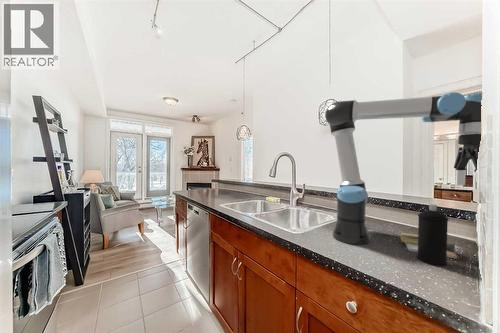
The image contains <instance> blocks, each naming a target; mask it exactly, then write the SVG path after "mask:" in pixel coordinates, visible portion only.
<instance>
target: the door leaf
mask: <svg viewBox="0 0 500 333" xmlns="http://www.w3.org/2000/svg"><path fill="white" fill-rule="evenodd" d="M455 249H456V245H455V244H454V243H449V242H447V258H451V259H455V260H456V259H458V255H457V254H456V253H455V251H456V250H455Z"/></svg>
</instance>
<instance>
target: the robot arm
mask: <svg viewBox="0 0 500 333" xmlns="http://www.w3.org/2000/svg"><path fill="white" fill-rule="evenodd" d="M482 94H483V93H481V92H480V93H471V94H467V95H463V94H462V93H460V92H457V91H456V92H455V91H454V92H448V93H445V94H443V95H436V96H424V97H409V98H399V99H398V98H397V99H396V98H395V99H384V100H374V101H373V100H372V101H371V100H370V101H357V100H355V99H353V100H340V101H335V102H333V103H331V104H329V106H327V108H326V109H325V115H324V117H325V120H326V123H328V124H329V128H330V133H331V135H332V136H334V139H335V140H334V141H335V145H336V152H337V157H338V163H339V164H338V165H339V169H340V176H341V182H340V184H339V187H338V189H337V193H336V198H337V200H336V202H337V203H336V222H335V224H334V227H333V230H332V237H333V238H334V240H337V241H338V242H339V241H340V242H342V243H345V244H351V245H352V244H353V245H366V244H369V243H370V239H371V238H370V234H369V230H368V227H367V225H366V207H367V203H368V201H369V200H368V199H369V195H368V192H367V189H366V183H365V181H364V180H362V179H361V175H360V174H361V173H360V168H359V163H358V158H357V157H358V156H357V150H356V144H355V139H354V134H353V133H354V132H355V131H356V126H355V122H356V121H358V120H362V121H363V120H377V119H378V120H380V119H381V120H382V119H401V118H403V119H406V118H408V119H409V118H421V120H422V122H423V123H436V122H438V123H440V122H451V121H453V122H455V121H459V124H458V134H459V136H458V142H457V144H458V145H460V146H461V145H463V146H461V147H458V150H457V151H458V152H457V156H456V159H455V162H454V164H453V165H454V166H453V168H454V169H455V171H456V174H455V185H456V186H463V187H464V186H466V175H467V173H466V172H467V165H468V164H469V161H470V160H471V162H472V164H473V165H474V170H473V171H474V178H473V190H478V189H477V182H476V170H477V159H478V152H479V147H480V145H481V144H480V141H481V106H482V105H481V100H482Z"/></svg>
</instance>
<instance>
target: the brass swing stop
mask: <svg viewBox="0 0 500 333" xmlns="http://www.w3.org/2000/svg"><path fill="white" fill-rule="evenodd" d="M400 240H401V242H403V243H404V242H407V243H414V244H418V234H414V233H406V232H400Z"/></svg>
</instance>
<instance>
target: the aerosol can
mask: <svg viewBox="0 0 500 333" xmlns="http://www.w3.org/2000/svg"><path fill="white" fill-rule="evenodd" d="M437 208H438V207H437V204H429V205H428V210H423V211H421V212H420V213H418V214H417V217H418V226H417V228H418V229H417V231H418V232H417V235H418V252H417V255H416V258H417V259H418V260H419V261H421V262H422V263H424V264H428V265H430V266H435V267H446V266H448V261H447V260H448V259H447V258H448V257H447V243H448V221H449V218H448V217H447V216H446V215H445V214H444V213H442V212H440V211H438V210H437Z"/></svg>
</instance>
